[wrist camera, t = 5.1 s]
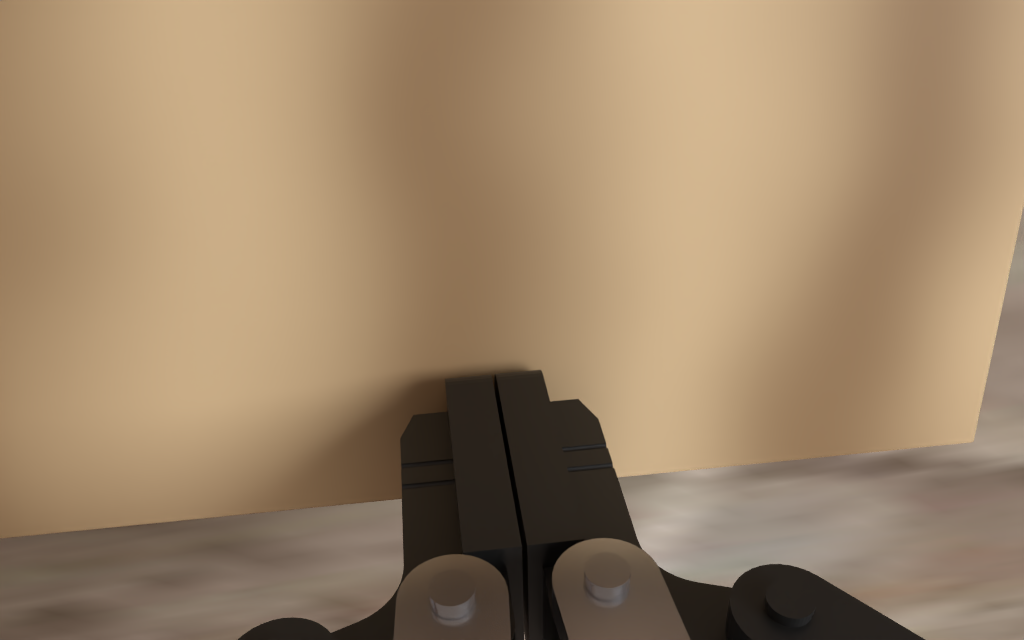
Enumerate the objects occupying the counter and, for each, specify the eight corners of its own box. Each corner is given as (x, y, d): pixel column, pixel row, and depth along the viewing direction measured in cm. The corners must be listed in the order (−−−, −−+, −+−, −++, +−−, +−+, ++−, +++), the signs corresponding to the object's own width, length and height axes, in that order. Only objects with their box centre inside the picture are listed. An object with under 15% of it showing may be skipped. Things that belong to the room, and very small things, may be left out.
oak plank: (989, -64, 14) (1079, -58, 12) (913, 384, 17) (973, 441, 15) (-116, -6, 12) (-204, 11, 11) (37, 465, 16) (-11, 539, 14)
